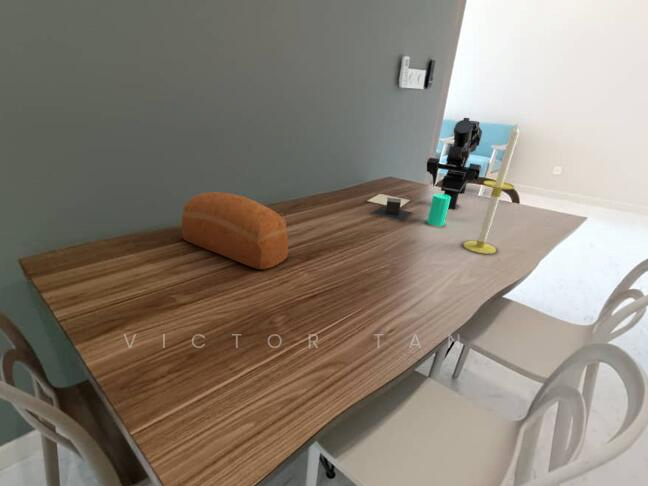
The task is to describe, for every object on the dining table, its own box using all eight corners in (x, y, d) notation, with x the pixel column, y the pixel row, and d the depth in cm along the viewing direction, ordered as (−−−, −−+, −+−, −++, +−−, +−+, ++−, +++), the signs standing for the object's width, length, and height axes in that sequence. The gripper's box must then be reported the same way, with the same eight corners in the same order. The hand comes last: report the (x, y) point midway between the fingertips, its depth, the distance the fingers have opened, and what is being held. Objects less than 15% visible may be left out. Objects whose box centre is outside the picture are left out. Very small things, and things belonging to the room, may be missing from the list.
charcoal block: (385, 210, 154) (387, 197, 151) (398, 211, 153) (400, 198, 150) (385, 214, 149) (387, 201, 147) (398, 215, 149) (400, 202, 146)
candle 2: (472, 239, 133) (507, 118, 114) (501, 249, 127) (544, 123, 108) (457, 246, 127) (492, 119, 108) (487, 256, 121) (530, 124, 102)
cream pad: (379, 194, 174) (379, 193, 174) (410, 201, 168) (410, 200, 168) (366, 201, 163) (367, 200, 163) (398, 209, 157) (399, 207, 157)
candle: (444, 223, 146) (452, 190, 140) (443, 228, 141) (451, 194, 135) (427, 220, 147) (434, 188, 141) (426, 225, 142) (433, 192, 136)
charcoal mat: (382, 207, 158) (383, 205, 158) (411, 213, 153) (411, 212, 153) (371, 214, 150) (371, 213, 149) (401, 221, 144) (401, 220, 144)
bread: (260, 273, 102) (260, 216, 94) (178, 240, 118) (172, 188, 110) (292, 257, 112) (295, 203, 104) (212, 228, 128) (209, 180, 120)
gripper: (433, 133, 141) (420, 170, 138) (488, 140, 134) (475, 179, 132) (433, 153, 152) (420, 188, 149) (484, 161, 145) (472, 197, 142)
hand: (446, 188), depth 142 cm, fingers open, 9 cm apart
